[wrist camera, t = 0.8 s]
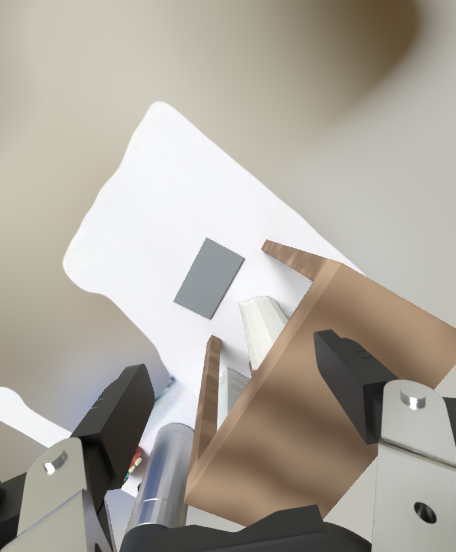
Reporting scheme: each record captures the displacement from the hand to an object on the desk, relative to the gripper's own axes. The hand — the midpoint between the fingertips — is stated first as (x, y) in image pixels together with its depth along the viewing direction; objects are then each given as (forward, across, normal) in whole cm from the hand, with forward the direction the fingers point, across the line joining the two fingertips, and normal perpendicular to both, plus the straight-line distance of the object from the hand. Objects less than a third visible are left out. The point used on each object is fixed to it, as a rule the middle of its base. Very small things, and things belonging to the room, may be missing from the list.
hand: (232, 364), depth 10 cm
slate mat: (+32, -4, -3) cm, 33 cm away
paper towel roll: (+32, +5, -11) cm, 35 cm away
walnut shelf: (+32, +5, -11) cm, 34 cm away
